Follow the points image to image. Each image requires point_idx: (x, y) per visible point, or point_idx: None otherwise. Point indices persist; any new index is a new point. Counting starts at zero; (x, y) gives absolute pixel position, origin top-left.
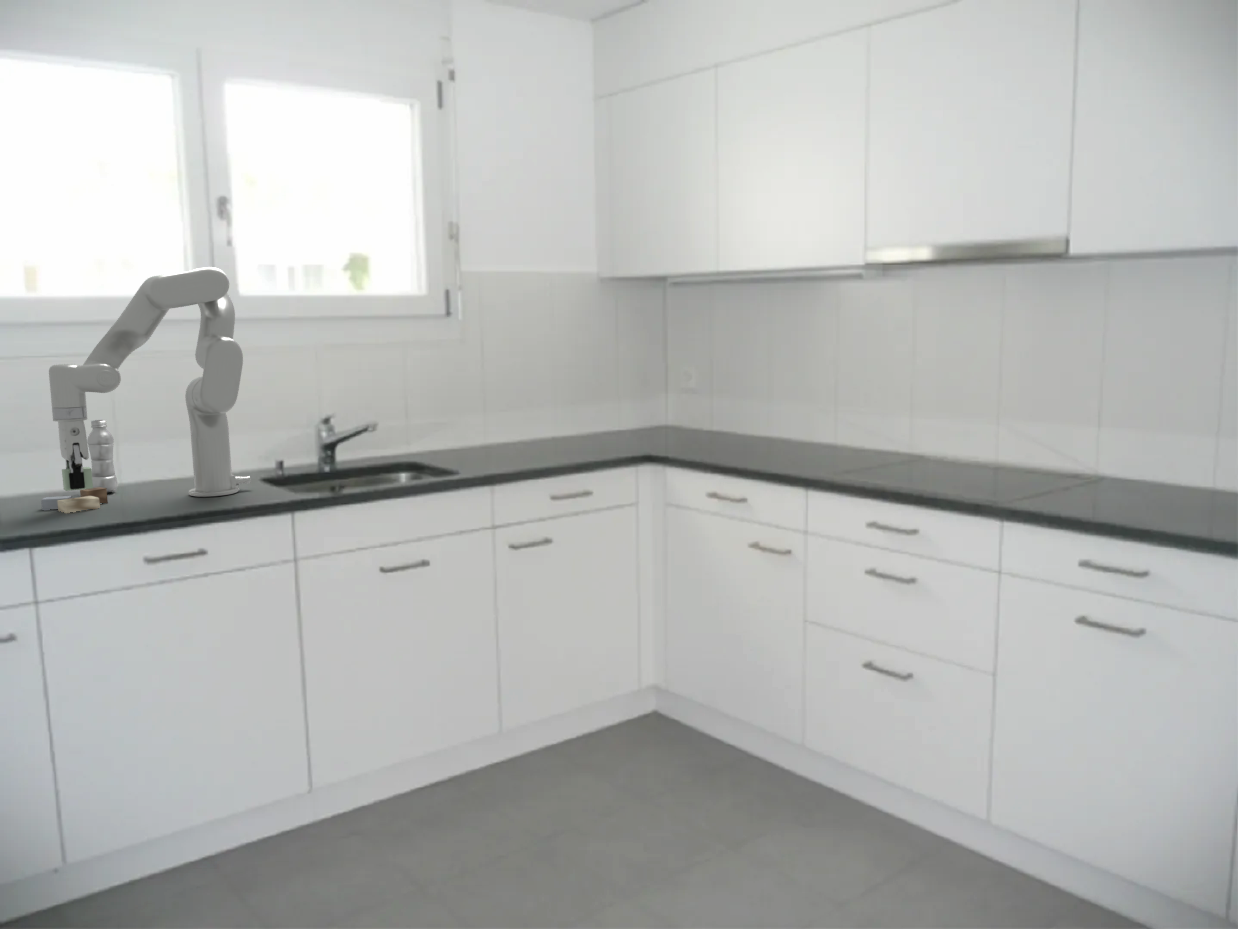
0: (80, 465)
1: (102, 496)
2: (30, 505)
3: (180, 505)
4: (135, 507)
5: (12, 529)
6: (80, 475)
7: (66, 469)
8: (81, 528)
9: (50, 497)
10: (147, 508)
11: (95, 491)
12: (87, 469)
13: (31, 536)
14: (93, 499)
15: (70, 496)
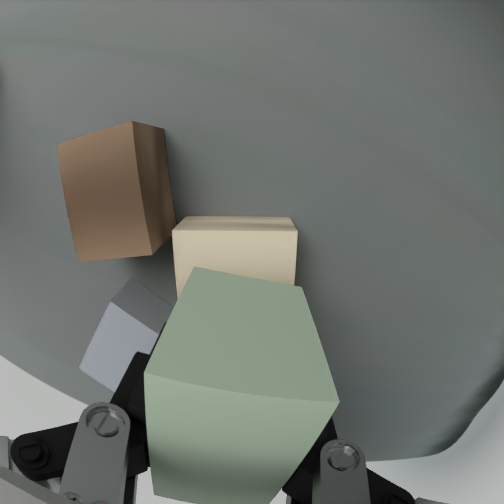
0: (426, 500)
1: (152, 153)
2: (29, 342)
3: (476, 20)
4: (406, 107)
5: (369, 459)
6: (333, 434)
7: (184, 492)
8: (500, 365)
9: (97, 365)
10: (459, 101)
11: (145, 197)
12: (321, 424)
13: (458, 434)
14: (294, 262)
15: (124, 311)
